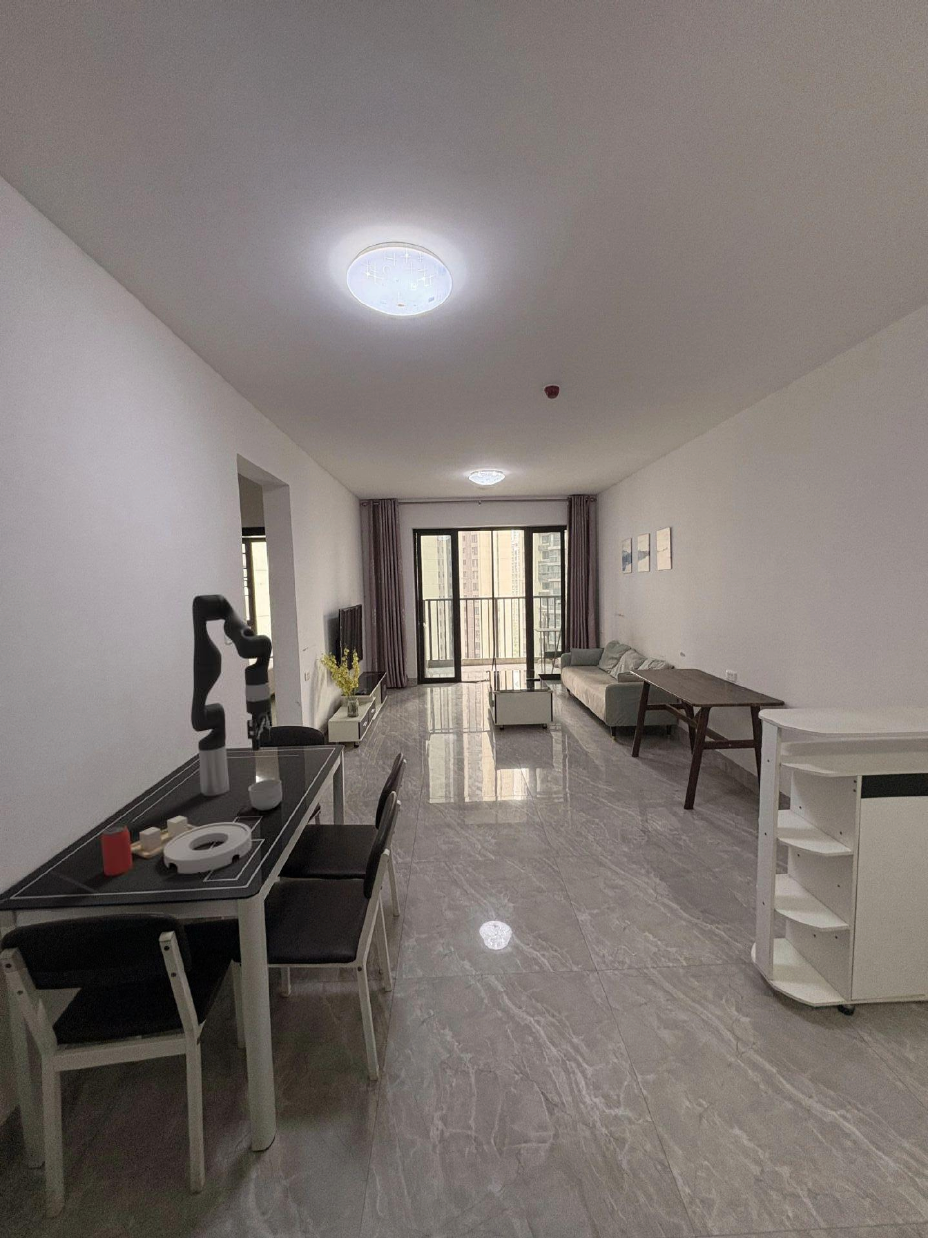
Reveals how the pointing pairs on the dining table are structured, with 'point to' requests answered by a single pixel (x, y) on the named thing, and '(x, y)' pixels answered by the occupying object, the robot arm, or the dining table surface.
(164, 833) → the tray
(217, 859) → the ashtray
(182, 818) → the stone block
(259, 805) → the teacup
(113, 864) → the beer can
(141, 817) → the dining table surface
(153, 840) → the stone block
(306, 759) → the dining table surface
